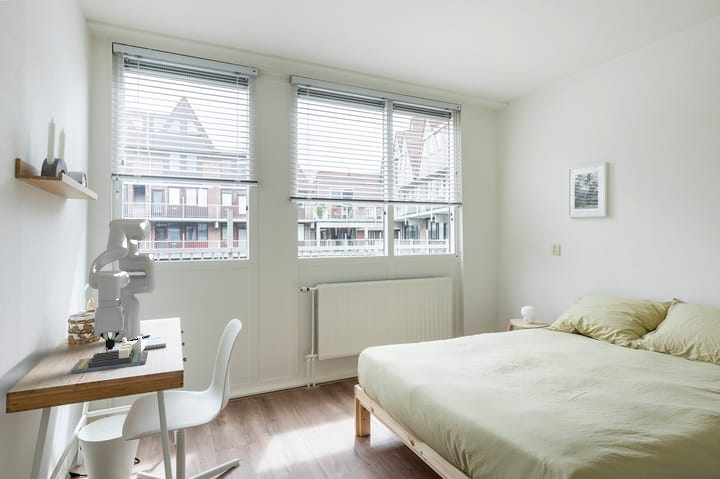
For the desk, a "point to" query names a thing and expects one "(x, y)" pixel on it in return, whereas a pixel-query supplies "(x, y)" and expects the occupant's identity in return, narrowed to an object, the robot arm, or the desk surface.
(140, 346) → the bracket
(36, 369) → the desk surface
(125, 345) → the block
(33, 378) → the desk surface
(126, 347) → the handle
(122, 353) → the breaker handle
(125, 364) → the breaker panel
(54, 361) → the desk surface
